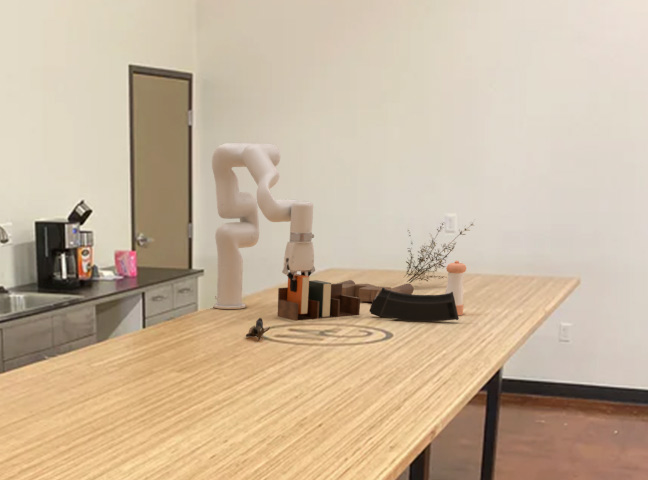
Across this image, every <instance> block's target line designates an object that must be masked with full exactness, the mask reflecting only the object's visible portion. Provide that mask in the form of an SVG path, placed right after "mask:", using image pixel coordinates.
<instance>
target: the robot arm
mask: <svg viewBox="0 0 648 480" xmlns="http://www.w3.org/2000/svg"><path fill="white" fill-rule="evenodd" d="M280 161H281V152H280V150H279V148H278V147H277V146H276V145H275V144H273V143H257V142H226V143H222V144H220V145H217V147H216V148H215V149H214V151H213V153H212V156H211V169H212V173H213V177H214V182H215V183H214V184H215V196H216V209H217V214H218V216H219V217H220V218H221V219H225V220H235V219H239V221H234V222H225V223H222V224H220V225H219V226H217V228H216V230H215V236H214V238H215V244H216V252H217V282H216V283H217V284H216V285H217V286H216V287H217V291H216V292H217V293H216V295H215V296H214V299H215V300H216V302H215V303H213V304H212V308H214V309H220V310H238V309H239V310H240V309H245V308H246V307H247V304H246V303H244V302H243V272H244V271H243V270H244V269H243V267H244V266H243V265H244V264H243V263H244V262H243V256H242V254H241V252H240V249H243V248H245V249H246V248H252V247H254V246H256V244H258V242H259V239H260V220H259V210H260V211H261V213H262V215H263V216H264V217H265V219H266V220H268V221H269V222H271V223H282V222H284V223H285V222H286V223H288V222H289V223H290V225H289V241H287V242H286V246H285V250H284V257H283V269H282V271H281V272H282V274H283V275H285V276H287V278H288V277H289V279H290V291H293V292H296V291H297V280H296V275H297V274H298V272H300V275H304V276H309V277H310V276H311V275H312V274H314V273H315V272H316V268H315V265H314V264H315V250H314V242H313V241H312V239H313V238H315V234H314V233H313V219H314V218H313V217H314V216H313V215H314V205H313V203H312V202H311V201H307V200H298V199H293V198H291V199H290V198H289V199H287V198H286V199H275V197H274V196H273V195H272V192H271V191H270V189H271V188H273V187H275V185H276V184H277V183H278V182H279V180H280V172H279V171H278V170H277V169H278V168H277V166H278V165H279V164H280ZM233 168H246V169H247V170H248V172H249V173H250V175H251V177H252V178H253V180H254V182H255V183H256V185H257V188H256V197H255V196H254V195H253V194H252V193H250V192H247V191H242V192H240V189H239V180H238V176H237V175H236V173H235V171H234V170H233Z"/></svg>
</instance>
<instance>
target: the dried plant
mask: <svg viewBox="0 0 648 480" xmlns="http://www.w3.org/2000/svg"><path fill="white" fill-rule="evenodd" d="M474 222H475V220H473V222H472V221H471V222H470V225H469V226H468V227H466V225H464V230H460V231H459V234H458V235H457V236H456V237H455V238H454V239H453V240H452V241H451V242H450V245H449V243H448V244H447V245H446V243H444V244H440V245H441V247H442V251H440V249H437V251H436V249H435V248H436V247H437V245H438V243H437V242H436V238H437V236H438V234H436V235H435V238H434V237H433V235H432V234H430V237H432V238H431V239H432V240H430V241H429V243H430V245H427V247H426V243H424V245H423V247H422V246H419V248H420V251H419V250H417V253H419V254H420V255H419V254H417V265H416V264H415V263H416V261H415V260H413V259H414V258H415V257H414V255H415V254H414V253H412V249H411V248H410V247H407V252H409V253H410V259H408V257H407V260H408V261H405V263H406V264H408V265H407V267H406V274H405V275H404V277H407V278H409V279H407V281H406V283H408V284H411V283H412V282H414V281H418V282H420V281H421V282H422V281H426V282H429V281H431V279H430V278H432V279H436V278H437V275H435V274H432V275H429V274H430V273H435V272H436V273H437V272H438V269H441V270H442V269H444V268H447V265H446V266H445V265H444V264H445V263H447V258H448V256H449V254H450V253H451V252H453V251H454V249H455V245H457V243H455V240H456V239H457V238H458V237H459V236H461V235H462V236H465V235H466V233H463V232H467V231H470V229H469V228H470V227H471V226H474ZM439 224H441V225H440V226H439V227H438V226H437V228H436V230H437V233H440V232H441V231H442V229H444V227H443V225H444V226H445V224H446V222H444V221H442V222H441V223H440V222H439ZM407 232H408V234H407V236H408V237H411V232H410V230H409V229H407ZM451 244H452V245H451ZM410 245H413V240H412V239H411V240H410ZM408 249H409V250H408ZM430 249H431V250H430ZM433 251H434V252H433ZM446 251H447V254H445V255H444V256H443V254H442V252H444V253H446ZM432 253H433V254H432ZM428 260H429V261H428ZM443 261H444V262H443ZM435 262H436V263H435ZM432 263H433V264H432ZM419 266H420V267H419ZM425 266H426V267H425ZM432 268H434V270H432ZM410 270H411V271H410ZM413 272H414V273H413ZM426 273H427V274H428V275H427V274H426ZM444 278H446V279H448V276H443V275H442V276H441V275H438V280H441V279H443V280H444Z"/></svg>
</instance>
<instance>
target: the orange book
mask: <svg viewBox="0 0 648 480" xmlns="http://www.w3.org/2000/svg"><path fill="white" fill-rule="evenodd" d="M296 280H297V291H296V292H293V291H290V279H289V277H288V276H287V287H288V289H287V301H290V302H295V303H298V314H307V311H308V292H309V281H310V276H304V275H301V274H300V273H297V275H296Z"/></svg>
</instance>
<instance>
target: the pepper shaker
mask: <svg viewBox="0 0 648 480" xmlns="http://www.w3.org/2000/svg"><path fill="white" fill-rule="evenodd" d="M445 269H446V272H447V281H446V282H447V283H446V288H445V292H444V294H448V293H451V292H453V296H454V299H455V304H456V309H457V313H458V316H463V314H464V276H465V275H464V273H465V272H466V271H467V265H466V264H465V263H462V262H460V261H459V260H454V262H450V263H448V264H447V265H446V267H445Z"/></svg>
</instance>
